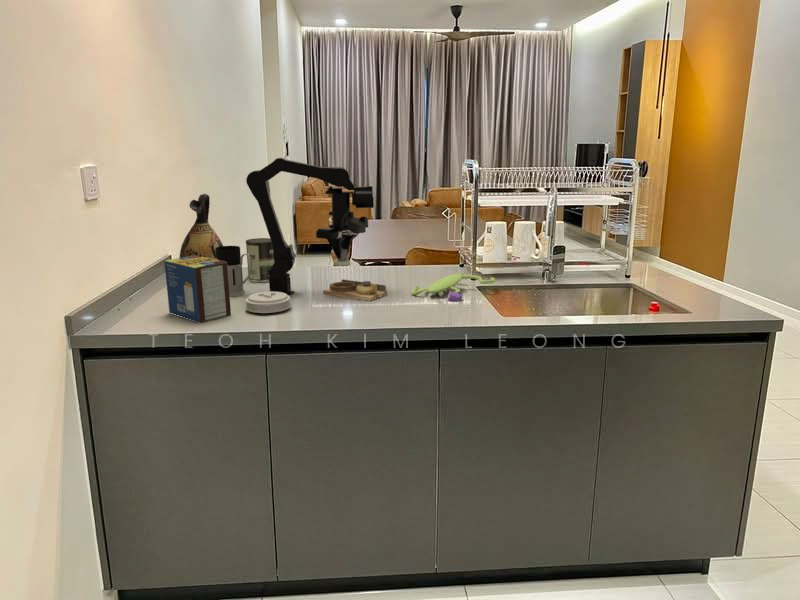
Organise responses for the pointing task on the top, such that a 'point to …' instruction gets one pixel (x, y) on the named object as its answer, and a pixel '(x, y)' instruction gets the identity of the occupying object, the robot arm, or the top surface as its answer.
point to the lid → (268, 302)
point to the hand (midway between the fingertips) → (342, 257)
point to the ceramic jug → (200, 232)
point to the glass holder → (233, 268)
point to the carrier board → (356, 290)
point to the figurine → (450, 286)
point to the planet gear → (342, 259)
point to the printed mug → (259, 258)
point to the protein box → (198, 288)
